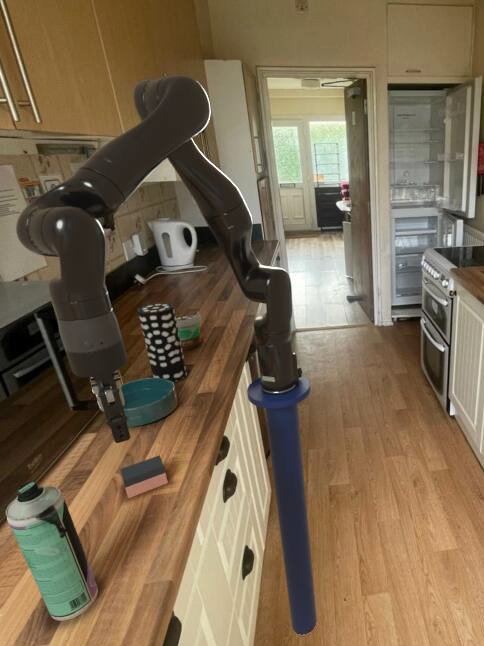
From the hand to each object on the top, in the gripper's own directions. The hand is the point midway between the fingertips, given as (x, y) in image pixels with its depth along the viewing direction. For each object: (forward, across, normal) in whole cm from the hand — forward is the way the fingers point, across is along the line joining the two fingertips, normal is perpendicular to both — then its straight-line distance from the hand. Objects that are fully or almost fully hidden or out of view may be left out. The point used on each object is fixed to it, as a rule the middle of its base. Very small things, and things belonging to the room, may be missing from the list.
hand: (119, 427), depth 72 cm
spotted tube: (+14, +44, -14) cm, 48 cm away
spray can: (+14, -18, +10) cm, 25 cm away
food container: (+14, +62, -24) cm, 68 cm away
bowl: (+14, +29, -6) cm, 32 cm away
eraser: (+14, +1, -2) cm, 14 cm away
